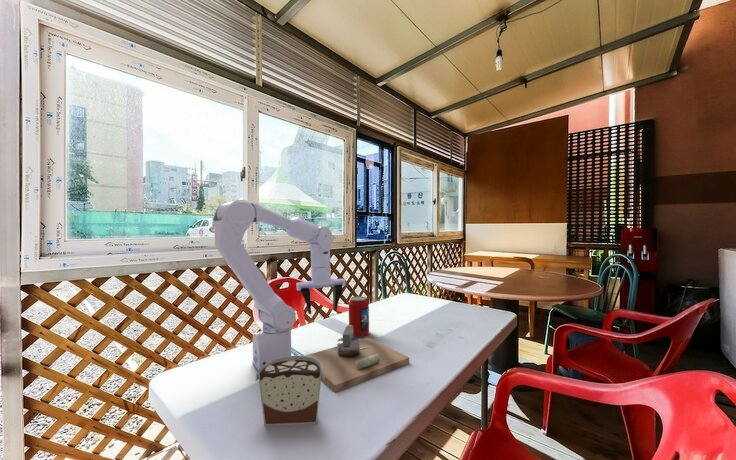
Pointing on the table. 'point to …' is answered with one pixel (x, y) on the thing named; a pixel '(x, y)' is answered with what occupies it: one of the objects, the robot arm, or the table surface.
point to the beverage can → (359, 315)
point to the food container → (290, 390)
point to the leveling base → (348, 367)
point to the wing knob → (348, 344)
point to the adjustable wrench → (295, 352)
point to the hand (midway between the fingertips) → (322, 311)
